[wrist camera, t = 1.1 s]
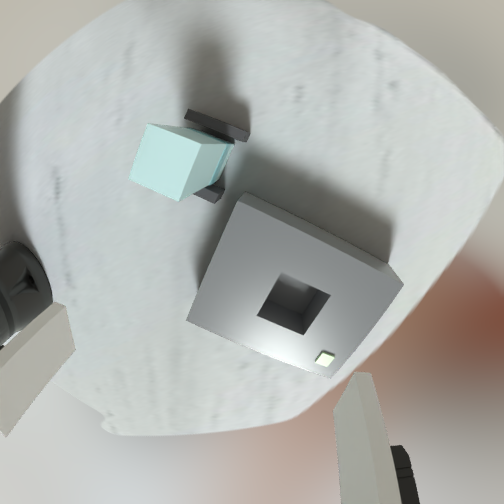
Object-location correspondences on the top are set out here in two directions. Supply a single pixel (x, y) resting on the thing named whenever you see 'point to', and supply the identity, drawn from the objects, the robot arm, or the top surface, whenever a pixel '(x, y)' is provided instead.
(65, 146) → the top surface
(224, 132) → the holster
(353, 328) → the port block
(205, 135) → the plug
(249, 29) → the top surface
